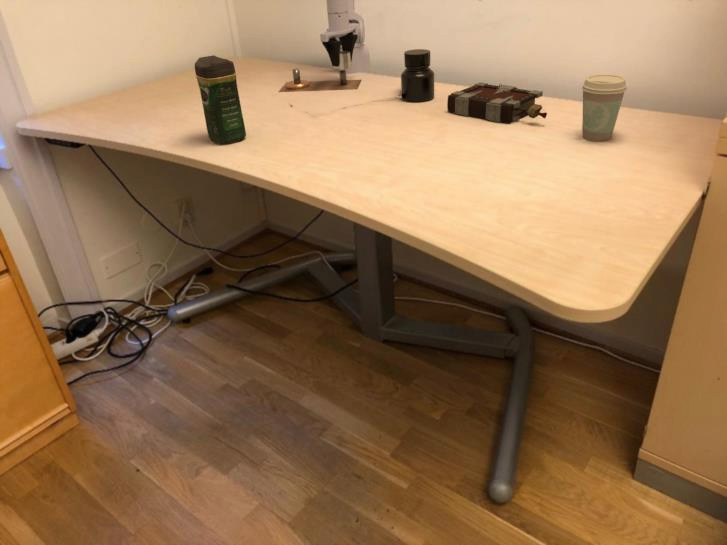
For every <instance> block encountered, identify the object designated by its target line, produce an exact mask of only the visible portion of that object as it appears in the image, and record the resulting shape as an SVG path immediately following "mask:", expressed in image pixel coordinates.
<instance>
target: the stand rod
mask: <svg viewBox="0 0 727 545" xmlns="http://www.w3.org/2000/svg"><path fill="white" fill-rule="evenodd" d="M339 80H340V84H341V86H344V85H347V82H346V80H347V74H346V70H340V71H339Z"/></svg>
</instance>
